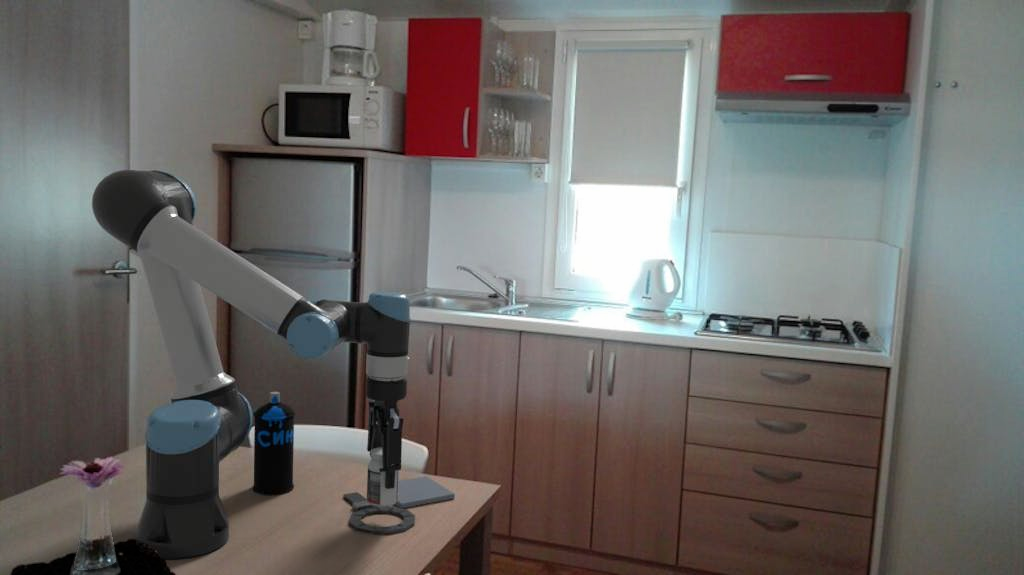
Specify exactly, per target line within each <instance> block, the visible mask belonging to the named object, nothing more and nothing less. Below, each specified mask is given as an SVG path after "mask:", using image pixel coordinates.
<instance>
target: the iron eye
mask: <svg viewBox="0 0 1024 575" xmlns="http://www.w3.org/2000/svg"><path fill="white" fill-rule="evenodd" d="M342 495H343V498H344V499H345V500H346V501H347V502H349V503H350V504H351V505H352V509H353V510H354V511H355V512H353V513H351V514H350V517H349V520H348V524H349V525H350V527H352V528H353V529H354V530H355V531H357V532H362V533H366V534H369V535H392V534H397V533H403V532H405V531H407V530H409V529H410V528H413V526H415V522H416V515H415V514H414V513H413V512H411V511H410V510H408V509H407V508H403V509H402V508H400V507H398V506H394V505H392V506H388V507H376V506H372V505H370V504H369V503H368V502H367V497H365V496H363V495H362V494H361V493H359V492H358V491H355V492H349V493H344V494H342ZM376 513H377V514H390V513H391V515H394V516H398V517H401V518H402V519H403V521H401V522H400V523H397V524H394V525H389V526H375V525H370V524H366V523H365V522H364V521H362V519H363V518H366V517H368V516H371V515H376Z"/></svg>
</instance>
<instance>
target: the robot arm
mask: <svg viewBox="0 0 1024 575" xmlns="http://www.w3.org/2000/svg"><path fill="white" fill-rule="evenodd" d="M91 198H92V200H91V207H92V208H91V209H92V212H93V215H94V217H95V220H96V221H97V223H98V224H99V226H100V227H101V228H102V229H103V230H104V231H105V232H107V234H109V235H110V236H111V237H113V238H114V239H116V240H117V241H119V242H121V243H122V244H124V245H125V246H127V247H128V250H129V253H131V254H133V255H134V256H136V257H137V258H139V259H140V260H141V263H142V267H143V270H144V273H145V276H146V280H147V285H148V288H149V292H150V296H151V300H152V302H153V306H154V311H155V313H156V317H157V321H158V324H159V329H160V331H161V335H162V338H163V343H164V347H165V349H166V354H167V357H168V360H169V364H170V368H171V372H172V375H173V379H174V382H175V387H174V389H173V391H172V392H171V394H170V401H171V403H165V404H163V405H160V406H159V407H157V408H155V409H154V410H152V411H151V412H150V414H149V415H148V417H147V420H146V428H145V433H144V440H145V471H146V473H145V475H146V476H145V478H146V479H145V480H146V481H145V482H146V485H145V487H146V490H145V491H146V493H145V494H146V495H145V497H146V499H145V503H144V505H143V506H144V507H143V509H142V512H141V515H140V518H139V520H138V524H137V527H136V529H135V534H134V535H135V536H134V539H135V540H137V541H140V542H142V543H145V544H147V545H148V546H149V547H151V548H153V549H154V550H156V551H157V552H158V553H159V555H160V557H161V558H160V559H163V560H165V559H166V560H167V559H168V560H169V559H170V560H173V559H174V560H175V559H176V560H177V559H187V558H192V557H193V558H194V557H197V556H202V555H205V554H208V553H212V552H213V551H214V552H215V550H218V549H220V548H221V547H223V546H224V545H225V544H226V543H227V542H228V541H229V539H230V523H229V520H228V518H227V514H226V512H225V509H224V504H223V502H222V500H221V497H220V489H219V488H220V485H219V484H220V462H222V461H223V460H224V459H225V458H227V457H228V456H229V455H230V454H232V453H233V452H234V451H236V450H237V449H238V448H240V447H241V446H242V445H243V443H244V442H245V440H246V439H247V437H248V436H249V435H250V433H251V429H252V426H253V422H254V421H253V420H254V418H253V417H254V415H253V410H252V406H251V404H250V402H249V400H248V399H247V398H246V397H245V395H243V394H241V393H240V392H239V391H238V387H237V383H236V380H235V378H234V377H232V376H231V375H229V374H227V373H225V372H224V368H223V365H222V361H221V357H220V354H219V349H218V346H217V342H216V339H215V335H214V331H213V328H212V324H211V320H210V316H209V313H208V309H207V306H206V301H205V298H204V295H203V291H202V287H203V288H204V289H207V290H208V291H209V292H211V293H213V294H214V295H216V296H218V297H219V298H221V299H222V300H223V301H225V302H226V303H228V304H230V305H231V306H232V307H235V308H236V309H238V310H239V311H240V312H242V313H244V314H246V315H247V316H249V317H250V318H251V319H254V321H257V322H258V323H259V324H261V325H262V326H264V327H266V328H267V329H269V330H271V331H272V332H273V333H275V334H277V335H278V336H280V337H281V338H283V339H284V340H286V342H287V344H288V346H289V349H290V350H291V351H292V352H293V354H295V355H296V356H298V357H299V358H302V359H306V360H314V359H317V358H321V357H323V356H326V355H327V354H329V353H330V352H331V351H332V350H334V349H335V348H336V346H338V345H339V344H341V343H346V344H347V343H349V344H350V343H352V344H353V343H354V344H366V346H367V347H366V348H367V349H366V361H365V365H366V366H365V374H366V375H368V376H367V377H366V379H365V397H366V398H368V399H370V401H368V427H367V447H366V450H367V452H369V456H370V458H371V450H372V449H374V448H379V447H382V457H383V468H380V469H379V471H380V472H381V481H380V505H389V504H394V505H396V504H395V492H396V470H398V471H401V470H402V452H403V451H402V447H403V446H402V445H403V442H402V440H403V427H404V426H403V425H404V416H400V411H399V408H398V402H399V401H401V400H404V399H405V398H406V397H407V396H408V392H407V391H408V390H407V389H408V379H407V377H406V376H407V375H408V364H409V363H411V359H410V357H409V339H410V324H411V316H410V310H411V309H410V307H411V306H410V297H409V296H408V295H407V294H405V293H403V292H402V293H401V292H395V291H375V292H371V293H370V294H369V296H368V300H367V301H365V302H363V301H362V302H355V301H342V300H341V301H340V300H329V299H325V298H322V299H307V298H305V297H304V296H302V295H301V294H299V293H298V292H297V291H295V290H293V289H291V288H290V287H288V286H287V285H286V284H284V283H283V282H281V281H279V280H278V279H276V278H275V277H273V276H272V275H270V274H269V273H267V272H265V271H264V270H262V269H261V268H259V267H258V266H256V265H255V264H253V263H252V262H250V261H248V260H246V258H244V257H242V256H241V255H239V254H237V253H236V252H235V251H233V250H231V249H230V248H228V247H227V246H225V245H223V244H222V243H221V242H220V241H217V240H216V239H215V238H213V237H211V236H210V235H209V234H206V233H205V232H203V231H202V230H200V229H198V228H197V227H196V226H194V223H193V222H194V221H193V220H194V219H195V217H196V214H197V200H196V198H195V194H194V192H193V191H192V189H191V187H190V186H189V185H188V184H187V183H186V182H185V180H183V179H182V178H180V177H178V176H176V175H174V174H171V173H169V172H166V171H162V170H156V169H155V170H133V169H122V170H117V171H114V172H112V173H110V174H108V175H106V176H105V177H104V178H103V179H102V180H100V181H99V183H98V184H97V186H96V187H95V189H94V192H93V194H92V197H91ZM371 461H372V458H371V459H370V462H371ZM135 540H134V541H135Z"/></svg>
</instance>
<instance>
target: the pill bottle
mask: <svg viewBox="0 0 1024 575" xmlns="http://www.w3.org/2000/svg"><path fill="white" fill-rule="evenodd" d="M370 458H371V459H372V461H371V460H370V462H369V463H368V464H367V474H366V475H367V478H366V479H367V480H366V482H367V483H366V499H367V502H368V503H369V504H370V505H372V506H376V507H388V506H394V505H395V504H389V505H380V481H381V472H380V471H379V469H380V468H383V457H382V447H379V448H374V449H372V450H371V457H370ZM398 481H399V470H396V492H395V503H396V502H397V498H398Z"/></svg>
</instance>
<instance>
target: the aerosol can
mask: <svg viewBox="0 0 1024 575" xmlns="http://www.w3.org/2000/svg"><path fill="white" fill-rule="evenodd" d="M280 398H281V393H280V392H279V391H271V392H269V402H266V403H264V404H262V405H260V406H259V407H258V408H257V409H256V410H255V411H254V412H252V414H253V417H254V433H253V434H254V436H253V437H254V438H253V440H254V442H253V444H254V445H253V449H254V450H253V451H254V452H253V456H254V457H253V486H252V491H253V492H254V493H256V494H259V495H264V496H277V495H278V496H279V495H284V494H287V493H289V492H291V491H292V490H294V488H295V484H294V443H295V442H294V438H295V436H294V434H295V433H294V432H295V431H294V430H295V416H296V411H295V410H293V408H292V407H291V406H290V405H288V404H286V403H283V402H281V400H280Z"/></svg>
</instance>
